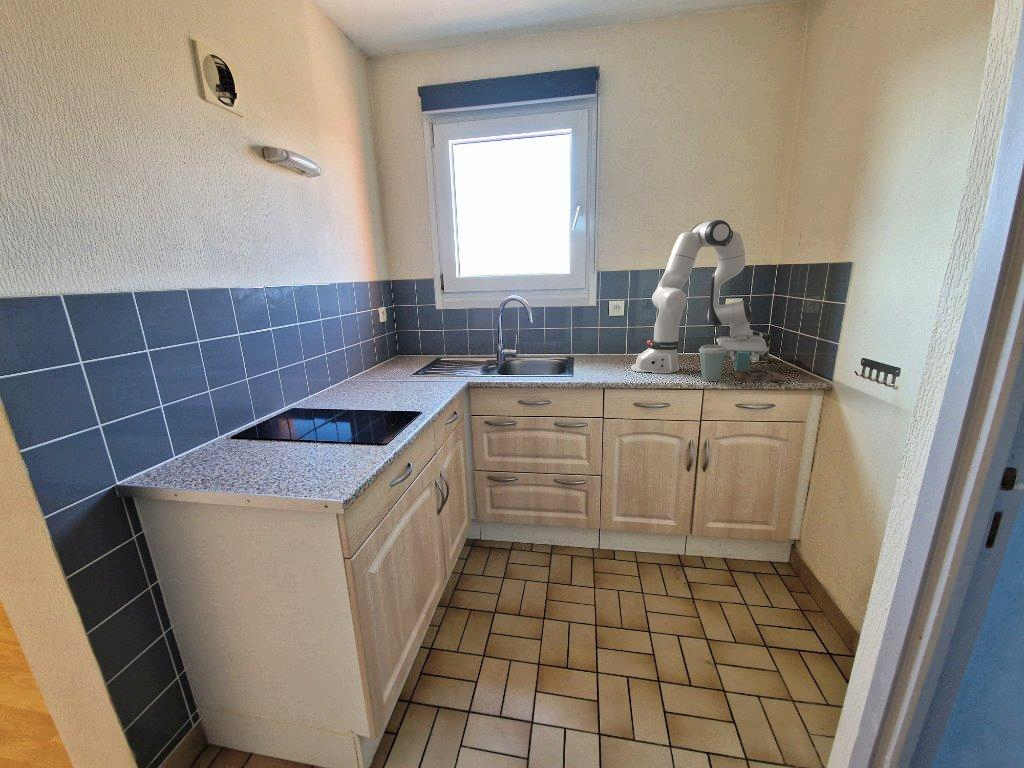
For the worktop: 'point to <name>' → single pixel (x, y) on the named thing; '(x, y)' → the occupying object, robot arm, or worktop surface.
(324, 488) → the worktop surface
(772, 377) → the base board
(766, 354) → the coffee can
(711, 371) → the disposable coffee cup
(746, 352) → the pillar
